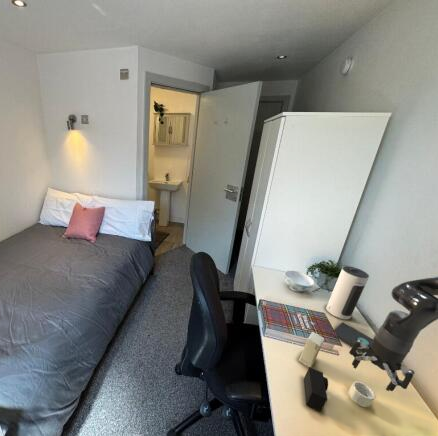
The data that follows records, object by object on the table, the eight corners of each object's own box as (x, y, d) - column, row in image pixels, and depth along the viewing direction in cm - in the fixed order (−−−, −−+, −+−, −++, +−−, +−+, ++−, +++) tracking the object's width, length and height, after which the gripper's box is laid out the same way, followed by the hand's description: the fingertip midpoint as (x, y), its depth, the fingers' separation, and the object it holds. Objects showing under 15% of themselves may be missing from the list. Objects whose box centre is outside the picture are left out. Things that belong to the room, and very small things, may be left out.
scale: (376, 344, 104) (379, 339, 103) (366, 357, 97) (369, 352, 96) (341, 324, 114) (343, 319, 113) (330, 334, 107) (332, 330, 106)
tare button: (368, 344, 100) (370, 342, 99) (366, 348, 98) (367, 346, 98) (358, 338, 103) (359, 336, 102) (355, 342, 101) (356, 339, 100)
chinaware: (276, 281, 145) (279, 271, 142) (296, 279, 147) (300, 269, 145) (294, 297, 131) (298, 286, 128) (316, 295, 134) (320, 284, 131)
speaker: (332, 317, 118) (350, 275, 108) (321, 303, 127) (337, 263, 118) (355, 321, 116) (376, 278, 107) (342, 306, 126) (360, 266, 116)
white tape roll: (371, 402, 81) (377, 392, 79) (366, 412, 78) (371, 402, 76) (351, 387, 85) (356, 378, 83) (345, 396, 82) (350, 386, 80)
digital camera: (325, 414, 76) (332, 401, 74) (305, 405, 79) (312, 392, 76) (320, 386, 85) (327, 373, 82) (303, 379, 87) (309, 366, 85)
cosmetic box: (310, 369, 91) (320, 346, 87) (298, 360, 94) (307, 338, 90) (315, 359, 95) (325, 338, 91) (303, 352, 98) (312, 330, 94)
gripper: (428, 355, 68) (403, 390, 74) (366, 322, 79) (349, 355, 85) (422, 367, 64) (396, 404, 70) (358, 331, 75) (341, 365, 81)
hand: (370, 377), depth 77 cm, fingers open, 8 cm apart
